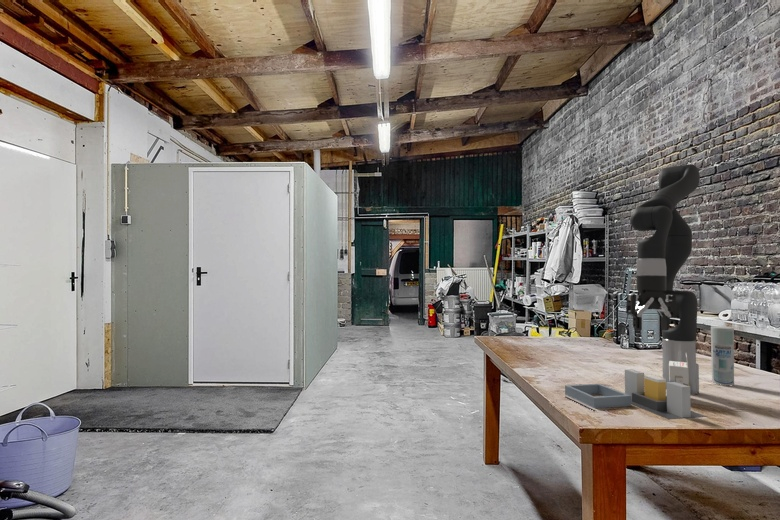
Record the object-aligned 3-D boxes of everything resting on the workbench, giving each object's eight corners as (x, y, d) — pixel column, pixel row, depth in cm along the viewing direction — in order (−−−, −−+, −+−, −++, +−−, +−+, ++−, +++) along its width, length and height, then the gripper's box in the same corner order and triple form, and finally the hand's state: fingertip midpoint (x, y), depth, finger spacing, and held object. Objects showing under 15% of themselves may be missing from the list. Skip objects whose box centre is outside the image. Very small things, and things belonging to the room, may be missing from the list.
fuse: (652, 402, 129) (651, 375, 129) (666, 407, 124) (665, 379, 124) (644, 403, 128) (644, 375, 129) (658, 408, 123) (657, 379, 124)
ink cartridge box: (669, 398, 137) (668, 350, 138) (688, 400, 135) (687, 352, 135) (669, 404, 130) (668, 355, 131) (689, 407, 127) (688, 356, 128)
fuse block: (644, 397, 138) (643, 368, 138) (707, 420, 117) (706, 386, 117) (610, 399, 136) (610, 369, 136) (668, 423, 114) (668, 388, 114)
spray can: (733, 383, 156) (732, 326, 156) (735, 387, 150) (734, 328, 151) (710, 380, 159) (710, 325, 160) (712, 384, 154) (711, 327, 154)
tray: (599, 395, 139) (599, 383, 140) (631, 409, 126) (631, 395, 126) (565, 397, 137) (564, 385, 137) (594, 411, 123) (594, 398, 124)
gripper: (664, 275, 133) (664, 328, 132) (620, 273, 131) (620, 328, 131) (683, 275, 126) (683, 332, 125) (637, 273, 124) (637, 331, 123)
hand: (651, 330), depth 128 cm, fingers open, 8 cm apart
